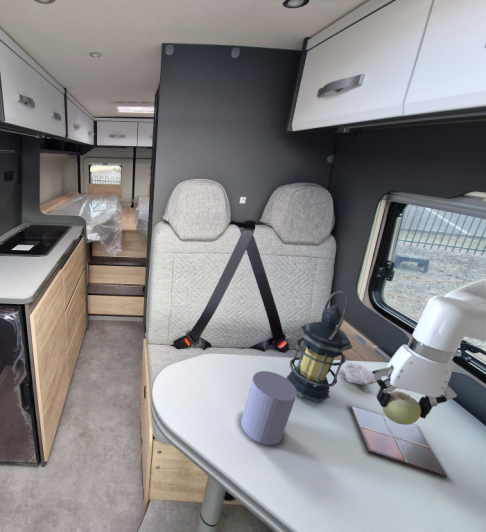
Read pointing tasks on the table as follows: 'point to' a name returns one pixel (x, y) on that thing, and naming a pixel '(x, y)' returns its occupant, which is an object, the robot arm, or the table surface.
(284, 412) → the container
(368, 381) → the fossil
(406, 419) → the fruit
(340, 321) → the lantern
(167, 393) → the table surface
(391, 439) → the board
